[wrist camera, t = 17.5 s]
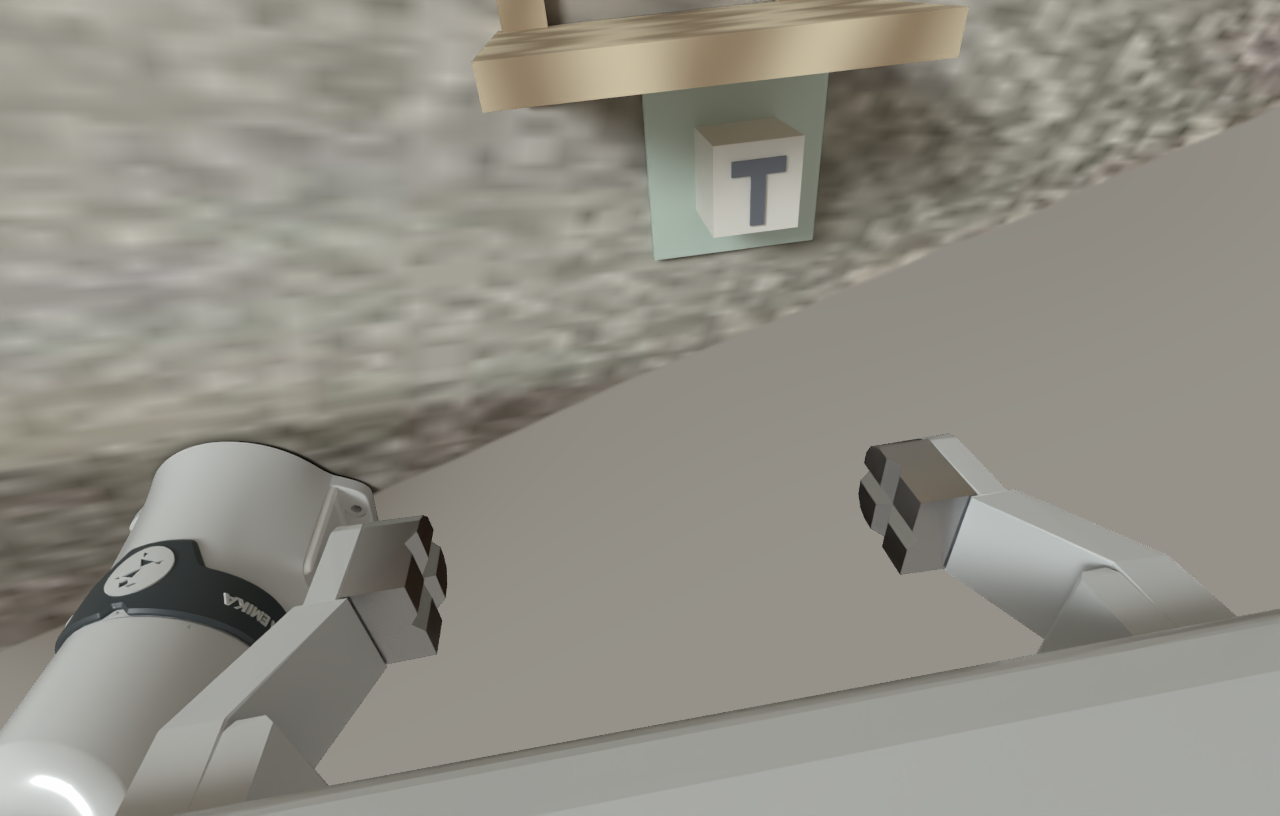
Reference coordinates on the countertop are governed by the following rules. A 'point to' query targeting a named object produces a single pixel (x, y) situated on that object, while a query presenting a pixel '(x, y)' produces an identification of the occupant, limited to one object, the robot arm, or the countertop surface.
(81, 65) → the countertop surface
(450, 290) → the countertop surface
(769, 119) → the letter cube
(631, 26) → the screen
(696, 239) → the pad
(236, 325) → the countertop surface
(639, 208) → the countertop surface
